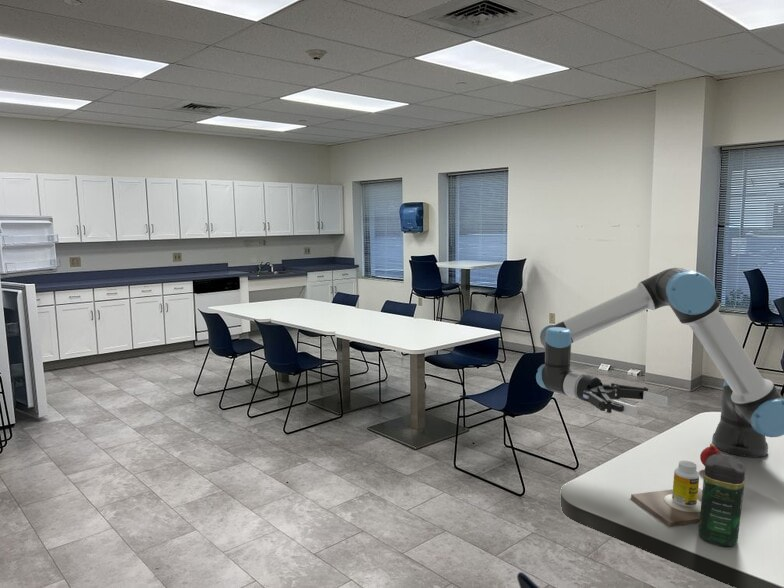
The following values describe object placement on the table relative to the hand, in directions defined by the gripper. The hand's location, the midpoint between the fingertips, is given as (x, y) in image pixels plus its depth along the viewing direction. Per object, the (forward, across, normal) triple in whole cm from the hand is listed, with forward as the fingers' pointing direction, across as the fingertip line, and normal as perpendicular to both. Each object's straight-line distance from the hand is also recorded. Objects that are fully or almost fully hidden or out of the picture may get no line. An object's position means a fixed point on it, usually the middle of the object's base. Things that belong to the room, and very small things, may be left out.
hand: (652, 406), depth 148 cm
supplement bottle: (+10, 0, -22) cm, 24 cm away
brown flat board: (+10, 0, -23) cm, 25 cm away
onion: (+3, -27, -24) cm, 36 cm away
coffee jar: (+21, +6, -24) cm, 32 cm away
